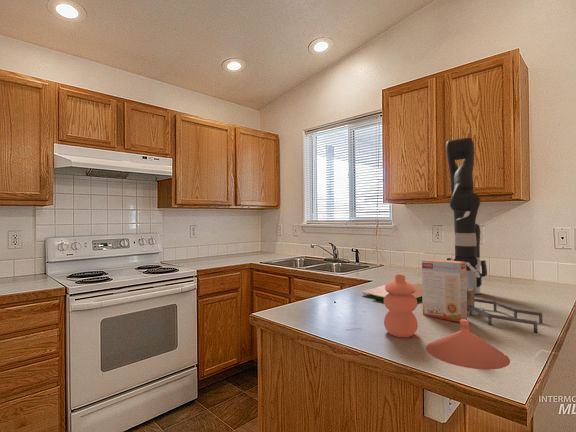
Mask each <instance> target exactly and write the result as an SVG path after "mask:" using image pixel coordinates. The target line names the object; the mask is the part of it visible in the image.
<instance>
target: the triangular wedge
mask: <svg viewBox="0 0 576 432" xmlns="http://www.w3.org/2000/svg"><path fill="white" fill-rule="evenodd" d="M412 284H413V283H412ZM385 285H386V284H384V285H383V284H382V285H380V286H376V287H373V288H369V289H366V290H363V291H361V293H363V294H364V296H365V297H367V295H368V297H369V298H372V296H373V299H376V298H377V300H379V301H380V302H381V301H382V302H384V297H385V296H386V295H387V294H389V293H388V292H386V290H385ZM413 285H414V286H415V287H416V291H415V293H414V294H412V295H414V296H415V298H416V299H419V298H422V283H418V282H417V283H414V284H413Z"/></svg>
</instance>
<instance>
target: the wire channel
mask: <svg viewBox="0 0 576 432" xmlns="http://www.w3.org/2000/svg"><path fill="white" fill-rule="evenodd" d="M475 302H476V303H483V304H489V305H493V311H494V312H497V309H498V308H497V306H498V307H500V308H503V309H505V310H508V311H509V312H510V311H511V312H513V317H512V316H506V315H501V314H499V315H498V314H493V313H490V312H487V311H485V310H480V309H478V308H479V307H476V306H475V307H474V306H471V305H467V308H469V314H468V316H473V315H472V310H474V311H476V312H478V313H479V314H481V315H482V316H485V317H487V320H488V321H487V324H488V326H489V325H490V326H492V323H493V322H492V319H497V320H502V321H503V320H504V321H510V322H516V323H520V324H521V323H522V324H528V325H532V326H533V333H534V334H538V324H543V322H544V321H543V320H544V319H543V316H544V315H543V312H541V311H533V310H528V309H521V308H519V309H518V308H515V307H512V306H509V305H507V304H504V303H501V302H498V301H495V300H489V299H481V298H474V303H475ZM518 314H524V315H532V316H538V321H537V320H532V319H524V318H520V317H519V318H518Z"/></svg>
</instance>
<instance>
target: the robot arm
mask: <svg viewBox="0 0 576 432" xmlns="http://www.w3.org/2000/svg"><path fill="white" fill-rule="evenodd" d="M445 152H446V159H447V165H448V172H449V179H450V182H449V183H450V193H451V197H450V201H449V207H450V210H452V211H453V220H454V223H453V225H454V227H453V229H454V258H452V257H448V258H446V260H451V261H462V262H466V275H467V288H472V289H474V295H479V294H481V286H482V277H484V278H485V277H486V276H488V267H487V261H486V259H483V260H481V254H480V253H481V252H480V251H481V249H480V248H481V247H480V246H481V245H480V243H481V226H480V225H479V224H478V223H476V220H477V215H478V211H479V208H480V206H481V198H480V196H479V195H478V193H474V177H473V176H474V175H473V170H474V161H475V145H474V140H473V139H472V138H471V137H462V138H454V139H450V140H447V141H446V144H445ZM460 160H464V161H463V162H462V163H461V164H460V166H459V167H458V164H457V162H456V161H460ZM467 212H469V214H468V215H466V216H465V214H466V213H467Z"/></svg>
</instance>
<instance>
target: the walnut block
mask: <svg viewBox="0 0 576 432" xmlns="http://www.w3.org/2000/svg"><path fill="white" fill-rule="evenodd" d="M474 299H475V294H474V289H472V288H467V305H471V306H474V307H476V306H475V305H476V304H475V302H474ZM467 311H469V308H467ZM472 311H473V310H472Z"/></svg>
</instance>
